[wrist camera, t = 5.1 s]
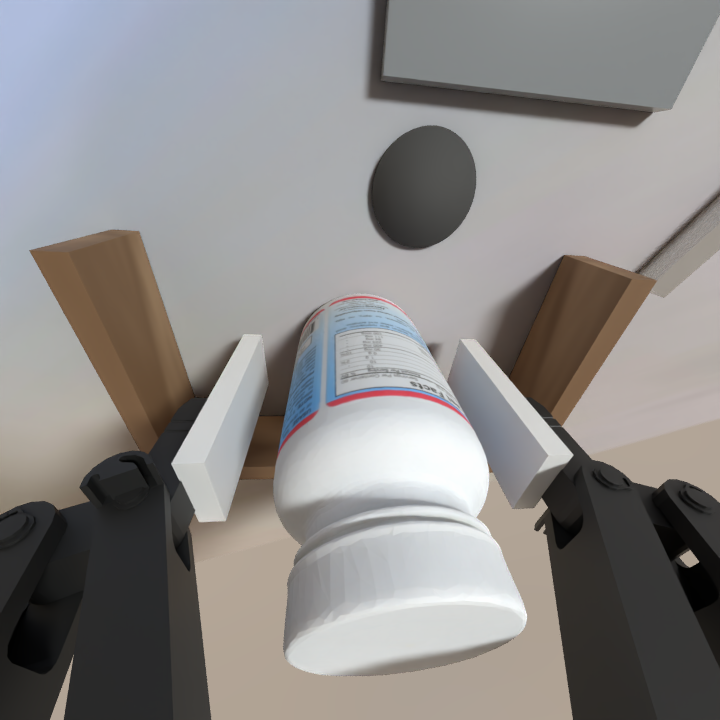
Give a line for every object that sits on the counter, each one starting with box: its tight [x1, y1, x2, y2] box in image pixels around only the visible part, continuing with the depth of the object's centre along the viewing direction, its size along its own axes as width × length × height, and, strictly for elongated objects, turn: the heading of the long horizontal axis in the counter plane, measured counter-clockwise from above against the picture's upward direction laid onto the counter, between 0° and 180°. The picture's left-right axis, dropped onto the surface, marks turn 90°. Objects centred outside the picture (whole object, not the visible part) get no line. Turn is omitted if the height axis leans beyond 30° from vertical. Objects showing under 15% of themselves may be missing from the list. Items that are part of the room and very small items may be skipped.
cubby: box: [29, 230, 657, 480], centre depth 13 cm, size 20×11×4 cm, turn 86°
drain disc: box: [372, 126, 476, 248], centre depth 11 cm, size 4×4×1 cm
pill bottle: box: [273, 293, 527, 676], centre depth 10 cm, size 6×6×11 cm
